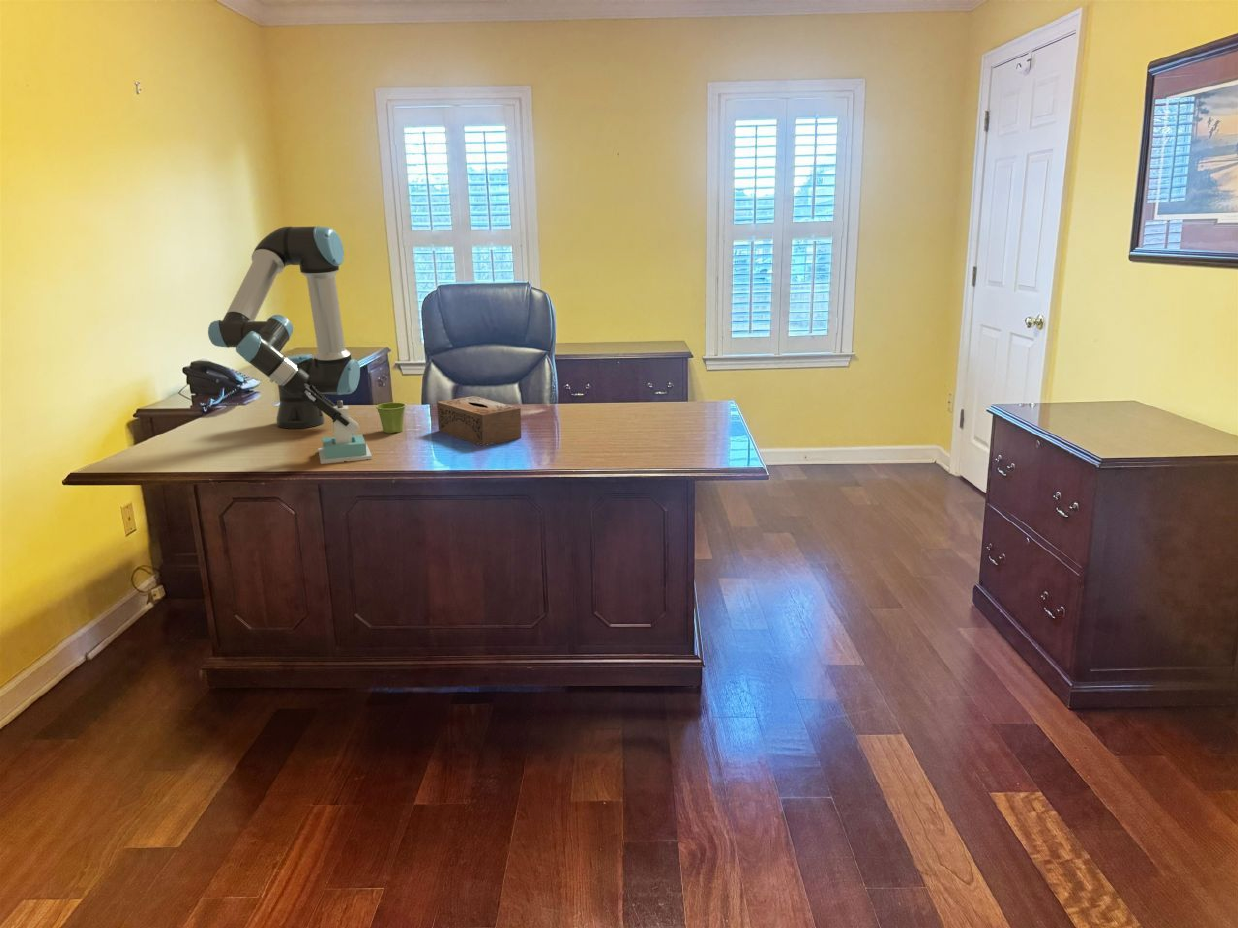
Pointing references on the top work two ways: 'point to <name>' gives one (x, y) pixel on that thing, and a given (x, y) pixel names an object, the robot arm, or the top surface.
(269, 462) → the top surface
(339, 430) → the plug
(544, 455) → the top surface
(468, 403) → the tissue box cover
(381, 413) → the plant pot
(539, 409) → the top surface
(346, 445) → the socket
